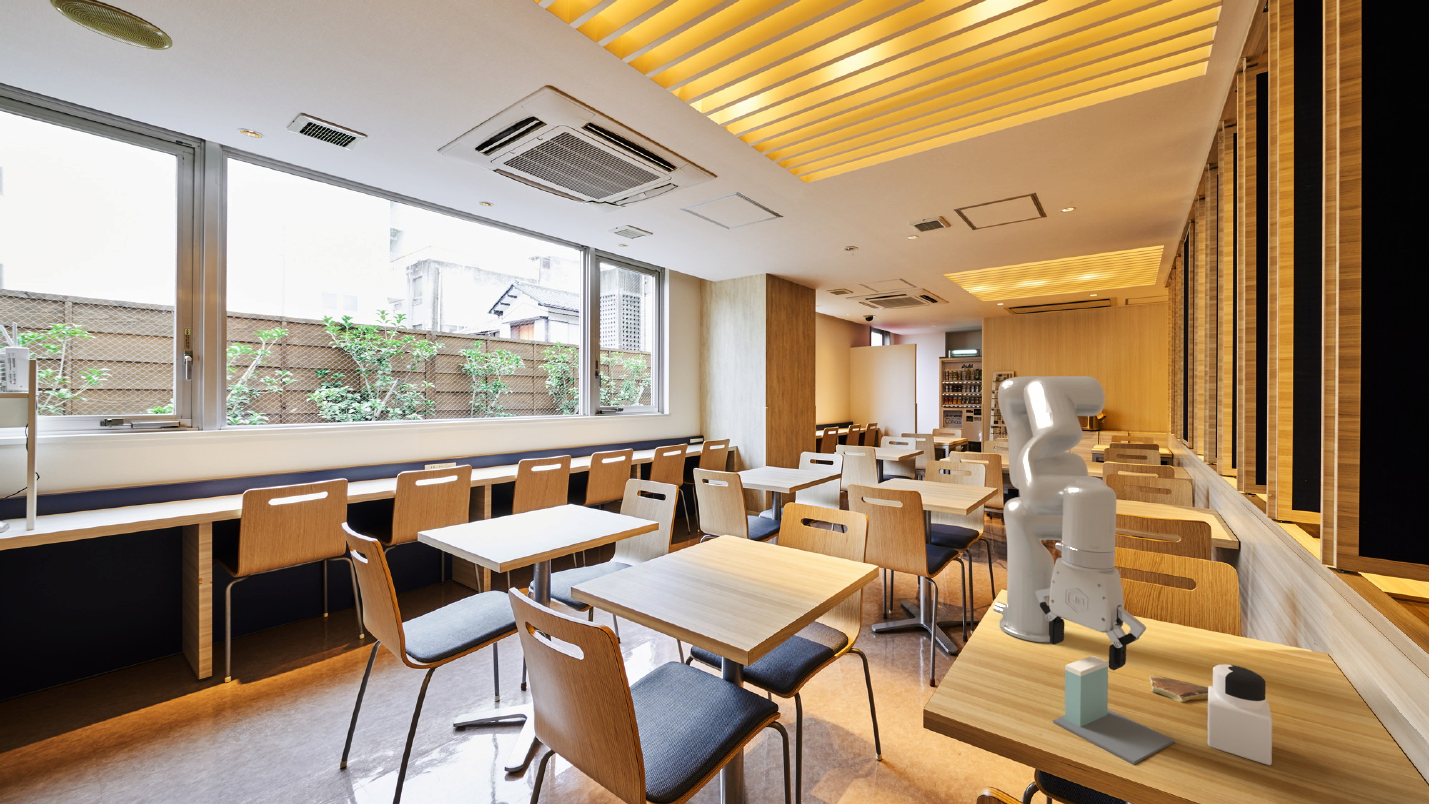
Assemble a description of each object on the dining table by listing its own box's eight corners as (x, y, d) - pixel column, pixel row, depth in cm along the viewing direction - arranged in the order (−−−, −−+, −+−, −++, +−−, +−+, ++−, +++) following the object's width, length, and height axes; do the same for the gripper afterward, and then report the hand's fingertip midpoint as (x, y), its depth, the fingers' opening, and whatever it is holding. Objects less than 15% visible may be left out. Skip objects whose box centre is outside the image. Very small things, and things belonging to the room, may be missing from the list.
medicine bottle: (1267, 745, 88) (1268, 669, 88) (1271, 767, 83) (1272, 686, 82) (1207, 727, 93) (1208, 655, 93) (1207, 746, 87) (1208, 670, 87)
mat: (1053, 722, 94) (1053, 720, 94) (1094, 705, 99) (1094, 702, 99) (1133, 764, 83) (1133, 761, 83) (1174, 742, 88) (1174, 739, 88)
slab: (1064, 719, 94) (1065, 665, 94) (1092, 707, 98) (1092, 655, 97) (1080, 727, 92) (1080, 671, 92) (1107, 714, 95) (1108, 661, 95)
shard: (1223, 698, 103) (1223, 688, 103) (1231, 717, 96) (1231, 707, 96) (1149, 680, 109) (1149, 671, 109) (1152, 698, 102) (1152, 688, 102)
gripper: (1025, 546, 101) (1023, 638, 101) (1132, 576, 85) (1129, 685, 86) (1050, 540, 104) (1048, 629, 105) (1158, 568, 89) (1155, 673, 89)
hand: (1085, 654), depth 95 cm, fingers open, 9 cm apart
